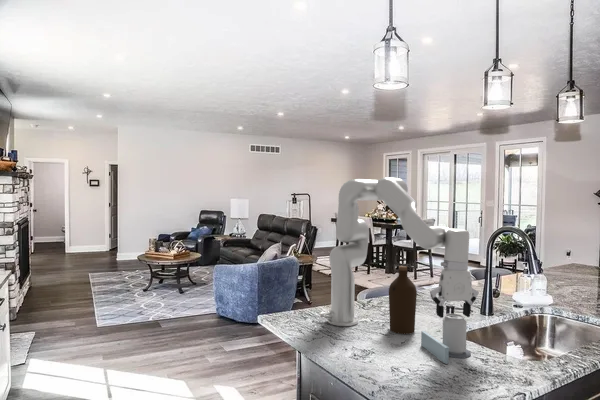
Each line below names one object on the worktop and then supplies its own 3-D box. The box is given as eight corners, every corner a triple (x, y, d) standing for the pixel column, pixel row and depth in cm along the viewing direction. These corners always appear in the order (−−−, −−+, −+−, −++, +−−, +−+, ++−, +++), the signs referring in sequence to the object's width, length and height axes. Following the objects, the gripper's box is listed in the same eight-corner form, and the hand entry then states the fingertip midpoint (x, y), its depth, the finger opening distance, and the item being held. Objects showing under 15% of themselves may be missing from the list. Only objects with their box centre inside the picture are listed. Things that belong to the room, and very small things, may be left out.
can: (460, 347, 145) (461, 312, 145) (470, 355, 137) (470, 318, 137) (439, 347, 145) (439, 312, 144) (447, 355, 137) (447, 318, 137)
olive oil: (413, 336, 156) (414, 269, 156) (385, 332, 160) (386, 267, 160) (418, 328, 166) (419, 265, 165) (391, 324, 170) (392, 263, 170)
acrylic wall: (444, 363, 132) (445, 347, 131) (421, 345, 147) (421, 331, 147) (448, 363, 132) (448, 347, 132) (424, 345, 147) (424, 330, 147)
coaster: (448, 359, 135) (448, 357, 135) (433, 347, 145) (433, 346, 145) (477, 357, 137) (477, 356, 137) (460, 346, 147) (460, 345, 147)
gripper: (437, 268, 135) (435, 320, 136) (485, 267, 138) (483, 319, 139) (426, 263, 143) (424, 313, 143) (472, 263, 146) (470, 312, 146)
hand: (453, 316), depth 141 cm, fingers open, 9 cm apart
